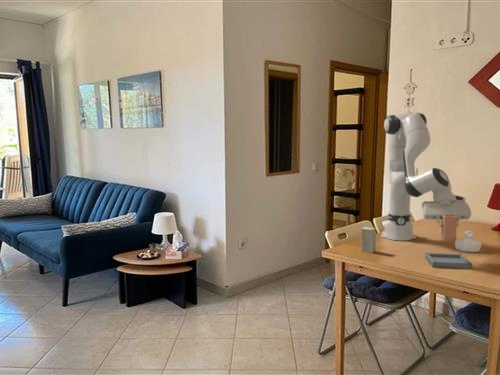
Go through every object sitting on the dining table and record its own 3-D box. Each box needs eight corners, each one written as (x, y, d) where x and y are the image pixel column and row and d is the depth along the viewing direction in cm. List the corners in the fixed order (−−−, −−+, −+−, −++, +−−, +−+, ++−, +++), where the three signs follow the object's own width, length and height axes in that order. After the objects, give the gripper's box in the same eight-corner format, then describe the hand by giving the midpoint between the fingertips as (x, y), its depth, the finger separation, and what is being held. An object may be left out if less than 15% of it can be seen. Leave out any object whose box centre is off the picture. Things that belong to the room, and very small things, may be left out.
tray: (425, 257, 194) (425, 252, 194) (460, 259, 191) (461, 254, 191) (432, 267, 181) (433, 261, 180) (471, 268, 178) (471, 263, 177)
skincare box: (375, 251, 206) (376, 228, 205) (371, 253, 203) (372, 229, 202) (364, 249, 211) (364, 226, 209) (360, 251, 207) (360, 228, 206)
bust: (480, 256, 203) (481, 236, 208) (481, 250, 197) (482, 229, 202) (454, 253, 209) (455, 233, 214) (453, 247, 203) (455, 227, 208)
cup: (441, 237, 187) (441, 214, 186) (452, 237, 186) (453, 214, 185) (444, 240, 182) (444, 216, 181) (456, 240, 181) (456, 216, 180)
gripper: (422, 197, 191) (426, 222, 183) (468, 197, 187) (475, 222, 179) (419, 205, 196) (423, 229, 188) (465, 205, 192) (471, 230, 183)
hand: (449, 226), depth 183 cm, fingers closed on cup, 5 cm apart
